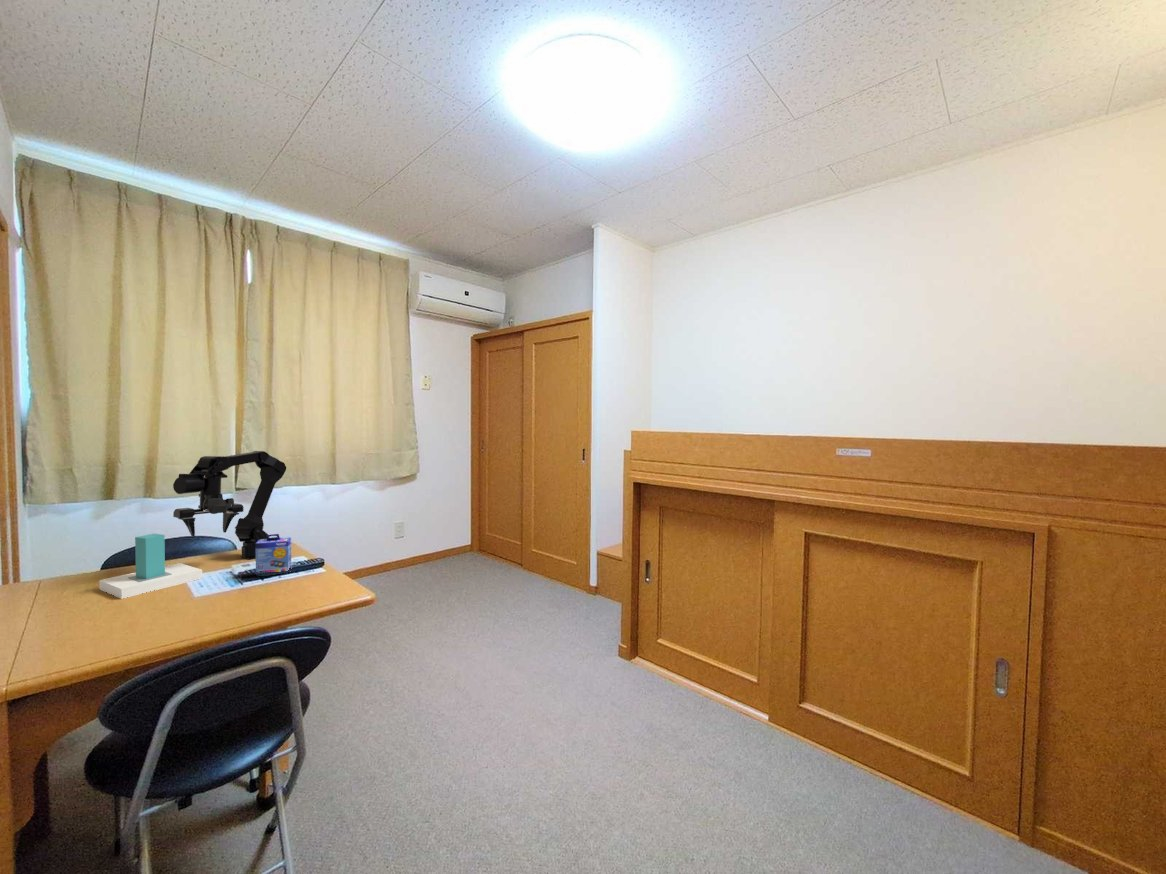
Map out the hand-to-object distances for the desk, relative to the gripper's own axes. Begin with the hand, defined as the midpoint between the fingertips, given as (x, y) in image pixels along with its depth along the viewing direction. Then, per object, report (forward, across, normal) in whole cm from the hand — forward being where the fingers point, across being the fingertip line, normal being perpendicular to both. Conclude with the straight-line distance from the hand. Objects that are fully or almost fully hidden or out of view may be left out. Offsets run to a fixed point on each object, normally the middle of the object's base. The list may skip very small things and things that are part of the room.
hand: (209, 534), depth 159 cm
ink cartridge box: (+13, +10, -23) cm, 29 cm away
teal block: (+10, -16, -2) cm, 19 cm away
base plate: (+14, -15, -1) cm, 20 cm away
